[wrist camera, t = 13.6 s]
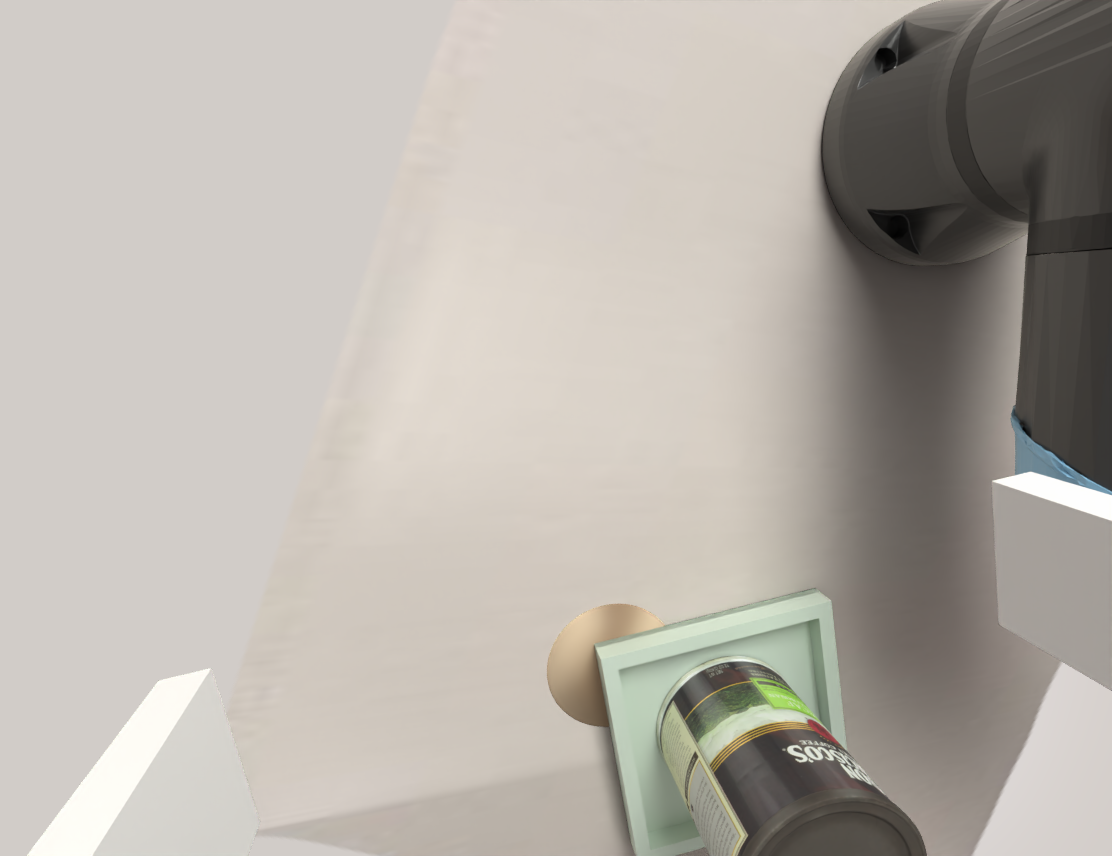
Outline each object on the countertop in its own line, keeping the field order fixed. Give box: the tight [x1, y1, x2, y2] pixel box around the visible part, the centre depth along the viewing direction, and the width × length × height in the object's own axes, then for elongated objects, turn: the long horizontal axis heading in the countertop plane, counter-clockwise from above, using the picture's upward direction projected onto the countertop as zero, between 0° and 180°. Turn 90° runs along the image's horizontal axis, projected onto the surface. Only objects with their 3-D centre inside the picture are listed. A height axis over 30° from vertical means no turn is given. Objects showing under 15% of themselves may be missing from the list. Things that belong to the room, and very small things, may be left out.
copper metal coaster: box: [547, 604, 665, 727], centre depth 47 cm, size 9×9×1 cm
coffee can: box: [657, 656, 927, 856], centre depth 41 cm, size 10×10×14 cm
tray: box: [594, 588, 847, 856], centre depth 48 cm, size 16×16×2 cm
